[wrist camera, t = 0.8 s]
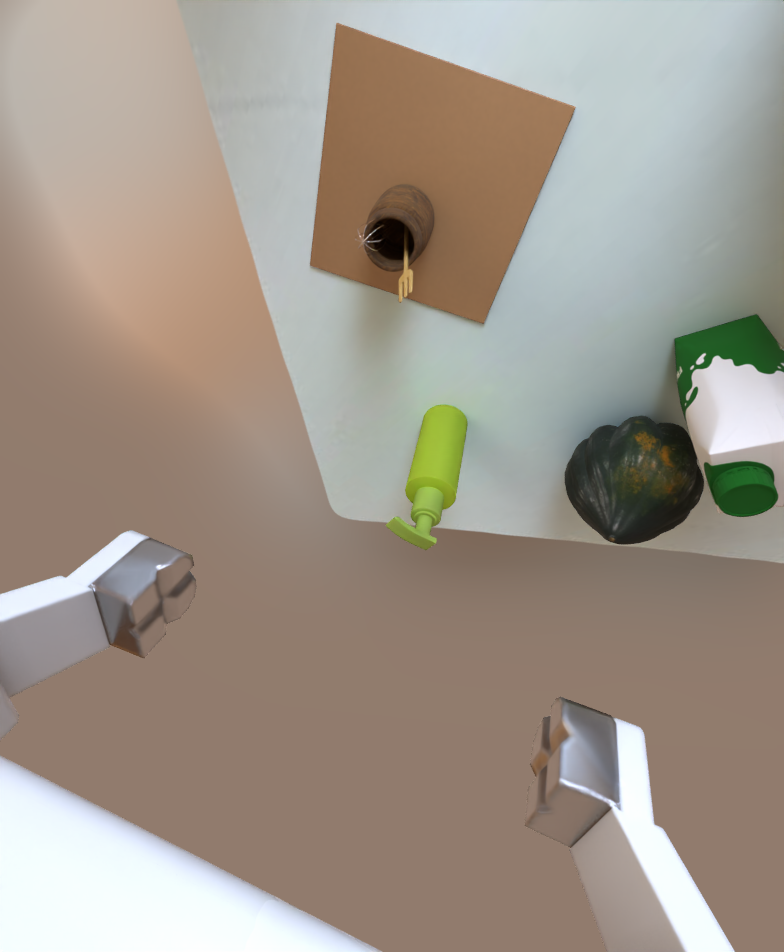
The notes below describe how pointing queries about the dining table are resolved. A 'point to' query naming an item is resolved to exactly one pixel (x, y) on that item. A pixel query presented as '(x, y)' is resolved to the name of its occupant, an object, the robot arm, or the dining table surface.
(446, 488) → the soap dispenser
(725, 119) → the dining table surface
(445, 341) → the dining table surface
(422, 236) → the utensil holder
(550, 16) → the dining table surface
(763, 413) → the milk carton
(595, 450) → the squash
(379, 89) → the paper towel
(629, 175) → the dining table surface
